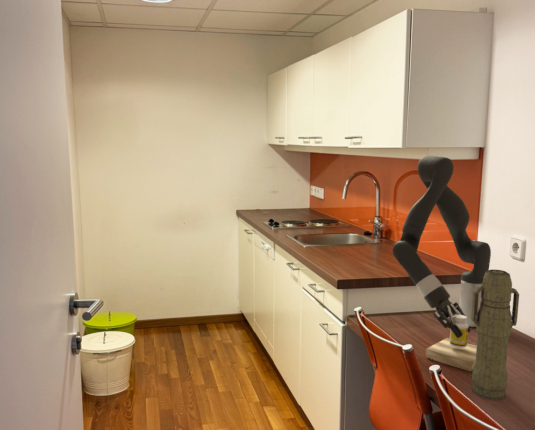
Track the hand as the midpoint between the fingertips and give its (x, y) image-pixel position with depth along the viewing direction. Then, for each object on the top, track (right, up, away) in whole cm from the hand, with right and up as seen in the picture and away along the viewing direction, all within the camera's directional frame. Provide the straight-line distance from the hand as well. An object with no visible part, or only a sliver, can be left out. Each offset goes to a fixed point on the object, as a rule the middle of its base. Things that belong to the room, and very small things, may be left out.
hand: (464, 334), depth 170 cm
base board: (-1, -8, +2) cm, 9 cm away
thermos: (-2, -12, -22) cm, 25 cm away
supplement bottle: (-1, -4, +2) cm, 5 cm away
